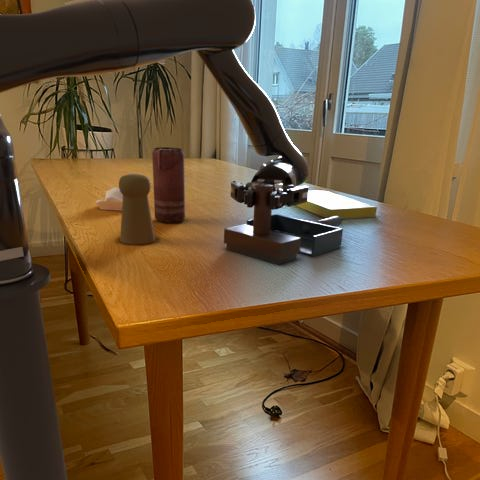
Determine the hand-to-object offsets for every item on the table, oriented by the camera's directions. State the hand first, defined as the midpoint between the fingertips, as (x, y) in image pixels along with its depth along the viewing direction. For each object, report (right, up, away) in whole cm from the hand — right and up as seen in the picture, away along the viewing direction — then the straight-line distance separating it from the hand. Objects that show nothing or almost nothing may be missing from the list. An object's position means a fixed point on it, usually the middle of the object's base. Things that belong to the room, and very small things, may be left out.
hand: (260, 201), depth 71 cm
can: (-18, +2, +26) cm, 31 cm away
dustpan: (+10, -2, +17) cm, 20 cm away
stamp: (0, -7, +6) cm, 9 cm away
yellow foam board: (+17, +9, +44) cm, 48 cm away
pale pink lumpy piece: (-30, +7, +36) cm, 48 cm away
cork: (-21, -4, +12) cm, 24 cm away
